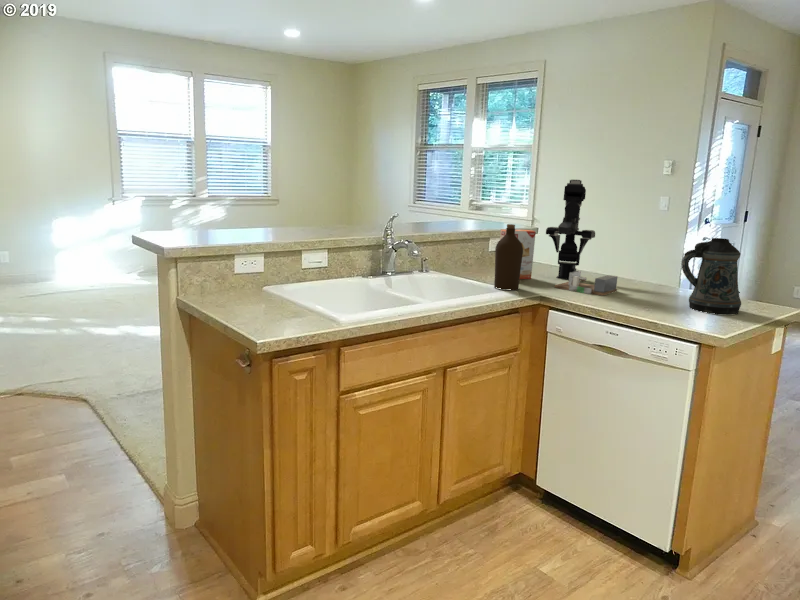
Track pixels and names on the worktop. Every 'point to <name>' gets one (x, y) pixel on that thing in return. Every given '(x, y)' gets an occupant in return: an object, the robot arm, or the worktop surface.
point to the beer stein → (714, 277)
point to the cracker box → (525, 250)
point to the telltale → (575, 281)
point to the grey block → (575, 273)
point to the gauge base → (582, 288)
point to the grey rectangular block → (605, 283)
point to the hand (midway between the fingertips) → (568, 253)
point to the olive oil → (508, 260)
